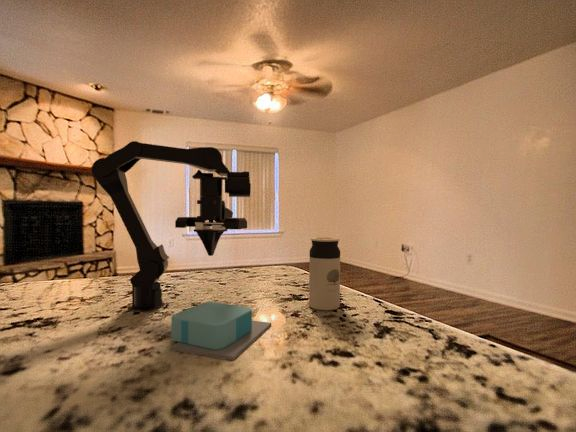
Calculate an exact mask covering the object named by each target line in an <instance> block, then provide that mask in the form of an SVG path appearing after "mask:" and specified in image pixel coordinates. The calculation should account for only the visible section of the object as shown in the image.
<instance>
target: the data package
mask: <svg viewBox="0 0 576 432" xmlns="http://www.w3.org/2000/svg"><path fill="white" fill-rule="evenodd" d="M252 321H253V309H252V308H251V307H248V306H243V305H235V304H228V303H222V302H216V301H206V302H203V303H200V304H197V305H195V306H192V307H190V308H189V307H188V308H187V309H185V310H181V311H179V312H176V313H174V314H173V313H172V315H171V330H170V331H171V332H170V333H171V340H172V341H174V342H177V343H178V342H182V343H186V344H190V345H195V346H199V347H203V348H208V349H212V350H219V349H223V348H225V347H226V346H228V345H230V344H231V343H233V342H235V341H236V340H238V339H240V338H241V337H243V336H245V335H246V334H248V333H249V332H251V331H252Z"/></svg>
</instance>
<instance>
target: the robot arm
mask: <svg viewBox="0 0 576 432" xmlns="http://www.w3.org/2000/svg"><path fill="white" fill-rule="evenodd" d="M141 160H149V161H157V162H165V163H172V164H181V165H187V166H190V167H193V168H196V169H198V170H197V171H196V173H194V174H193V175H192V179H193V180H199V199H197V200H196V204H197V205H199V215H197V216H177V218H176V219H175V222H174V227H175V228H177V229H178V228H179V229H183V228H184V229H186V228H187V227H189V228H190V227H192V228H195V229H193V232H194V233H197V235H198V237H199V239H200V240H201V242H202V245H203V247H204V249H205V251H206V253H207V255H208V256H214V254H215V251H216V248H217V246H218V243H219V241H220V238H221V236H222V235H223V234H224V232H228V230H245V229H248V221H247V219H246V217H233V215H234V212H233V211H232V210H231V209H229V208H228V207H226V202H225V200H223V181H224V194H228V197H232V198H250V197H251V192H252V191H251V190H252V189H251V188H252V187H251V186H252V185H251V179H250V178H251V177H250V171H230V170H229V169H228V167H227V166H226V165H225V163H224V162H223V156H222V153H221V151H220V150H219V149H217V148H216V147H213V146H208V147H207V146H206V147H205V146H204V147H203V146H200V147H194V148H193V147H192V148H184V147H183V148H181V147H176V146H166V145H159V144H152V143H145V142H139V141H136V140H133V141H129V143H127V144H125V145H124V146H123V147H120V148H119V149H117V150H115V151H113V152H112V153H110V154H109V155H107V156H105V157H101V158H98V159H96V160H95V161H94V162H93V164H92V166H91V168H90V172H91V175H92V176H93V177H94V178H95V180H96V181H97V183H98V185H99V186H100V187H101V188H102V189H103V190H104V191H105V192H106V193H107V194H108V196H109V197H110V199H111V201H112V202H113V204H114V206H115V208H116V210H117V213H118V214H119V217H120V218H121V221H122V222H123V225H124V227H125V229H126V231H127V233H128V235H129V237H130V239H131V241H132V244H133V245H134V248H135V251H136V260H137V264H138V268H139V270H138V271H137V272H136V273H135V274H134V275H133V276H131V278H130V279H129V280H130V283H131V293H132V294H131V297H132V299H131V303H132V305H131V304H130V305H129V306H127V309H128V310H132V311H133V310H134V311H142V312H150V311H152V310H155V309H157V308H160V307H162V306H164V305H165V302H163V298H162V297H163V296H162V295H163V293H162V291H163V289H162V287H161V282H159V281H158V280H159V279H160V277H161V276H162V275H164V273H166V271H167V270H168V267H169V261H168V260H169V258H170V256H169V255H167V253H166V251H165V248H164V244H162V243H161V244H160V245H157V244H156V243H155V242H154V241H153V240H152V238H151V236H150V233H149V231H148V229H147V227H146V225H145V223H144V221H143V219H142V217H141V215H140V213H139V210H138V209H137V206H136V204H135V203H134V200H133V199H132V196H131V193H130V192H129V185H128V179H127V176H126V173H127V172H129V170H131V169H132V168H133V167H134V166H135V165H136V164H137V163H138V162H139V161H141ZM202 171H205V172H202ZM214 173H216V174H217V175H218V176H214Z"/></svg>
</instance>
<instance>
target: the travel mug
mask: <svg viewBox="0 0 576 432" xmlns="http://www.w3.org/2000/svg"><path fill="white" fill-rule="evenodd" d="M310 240H311V247H310V249H309V265H308V266H309V273H308V275H309V279H308V281H309V283H308V285H309V287H308V288H309V289H308V290H309V291H308V292H309V294H308V298H309V299H308V306H309V307H310V308H311V309H314V310H317V311H323V312H324V311H329V312H330V311H334V310H337V309H339V308H340V307H341V301H340V300H341V250H340V248H339V245H338V244H339V241H341V240H340V238H338V237H333V236H332V237H330V236H329V237H328V236H316V237H314V236H313V237H311V238H310Z"/></svg>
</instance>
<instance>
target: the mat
mask: <svg viewBox="0 0 576 432" xmlns="http://www.w3.org/2000/svg"><path fill="white" fill-rule="evenodd" d="M270 327H272V322H267V321H258V320H252V331H251V332H249V333H248V334H246V335H245V336H243V337H241V338H240V339H238V340H236V341H235V342H233V343H231V344H230V345H228V346H226V347H225V348H223V349H219V350H212V349H208V348H203V347H199V346H195V345H190V344H186V343H182V342H178V341H177V343H175V344H173V345H172V346H170V351H174V352H178V353H179V352H180V353H186V354H192V355H198V356H202V357H203V356H204V357H210V358H215V359H224V360H229V361H234V360H236V359H237V358H238V357H239V356H240V355H241V354H242V353H243V352H244V351H246V349H247V348H248V347H250V346H251V345H252V344H253V343H254V342H255V341H256V340H257V339H259V338H260V337H261V336H262V335H263V334H264V333H265V332H266V331H267V330H268V329H269V328H270Z"/></svg>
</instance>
